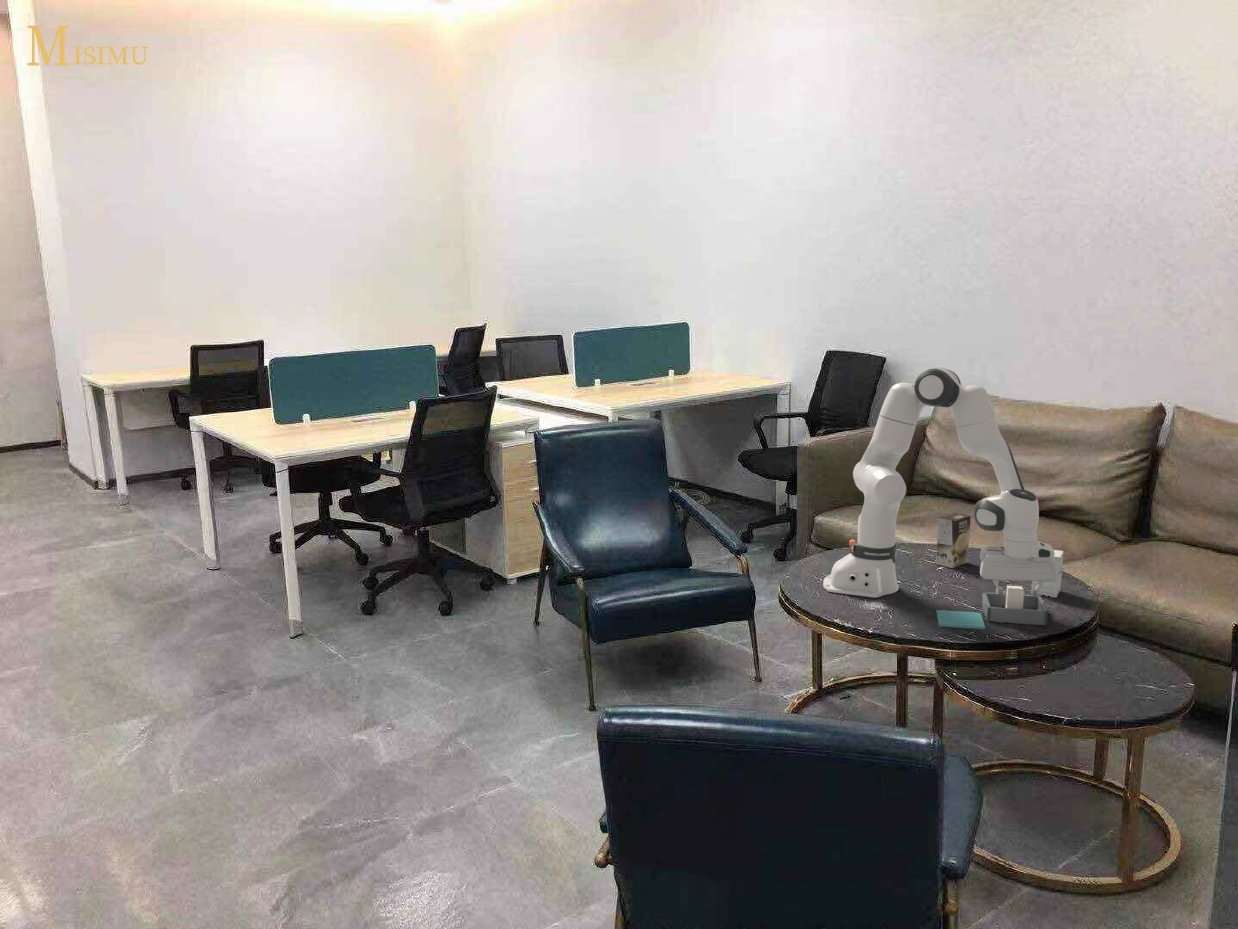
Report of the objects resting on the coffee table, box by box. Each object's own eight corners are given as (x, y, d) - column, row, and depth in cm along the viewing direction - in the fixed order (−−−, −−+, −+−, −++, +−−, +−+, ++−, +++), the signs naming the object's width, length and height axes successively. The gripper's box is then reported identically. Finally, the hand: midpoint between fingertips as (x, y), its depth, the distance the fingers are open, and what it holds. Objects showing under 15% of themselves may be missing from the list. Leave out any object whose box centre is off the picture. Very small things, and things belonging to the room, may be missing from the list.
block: (1006, 617, 279) (1008, 590, 277) (1005, 612, 282) (1006, 585, 281) (1022, 618, 278) (1024, 591, 276) (1019, 613, 282) (1021, 586, 280)
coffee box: (952, 568, 320) (955, 521, 316) (935, 564, 324) (937, 517, 321) (968, 562, 325) (971, 515, 322) (951, 558, 330) (953, 511, 326)
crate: (987, 621, 276) (987, 607, 275) (981, 605, 288) (982, 592, 287) (1046, 625, 272) (1048, 611, 271) (1039, 608, 284) (1040, 595, 283)
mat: (939, 626, 273) (939, 624, 273) (936, 611, 284) (936, 610, 283) (985, 629, 270) (985, 627, 270) (980, 614, 281) (980, 612, 281)
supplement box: (1057, 598, 292) (1060, 557, 289) (1030, 594, 296) (1033, 553, 293) (1061, 590, 298) (1064, 550, 296) (1034, 586, 302) (1038, 547, 299)
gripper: (981, 549, 275) (979, 596, 278) (1060, 552, 271) (1057, 600, 274) (978, 543, 281) (976, 589, 284) (1056, 545, 277) (1052, 592, 280)
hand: (1017, 594), depth 279 cm, fingers open, 8 cm apart
